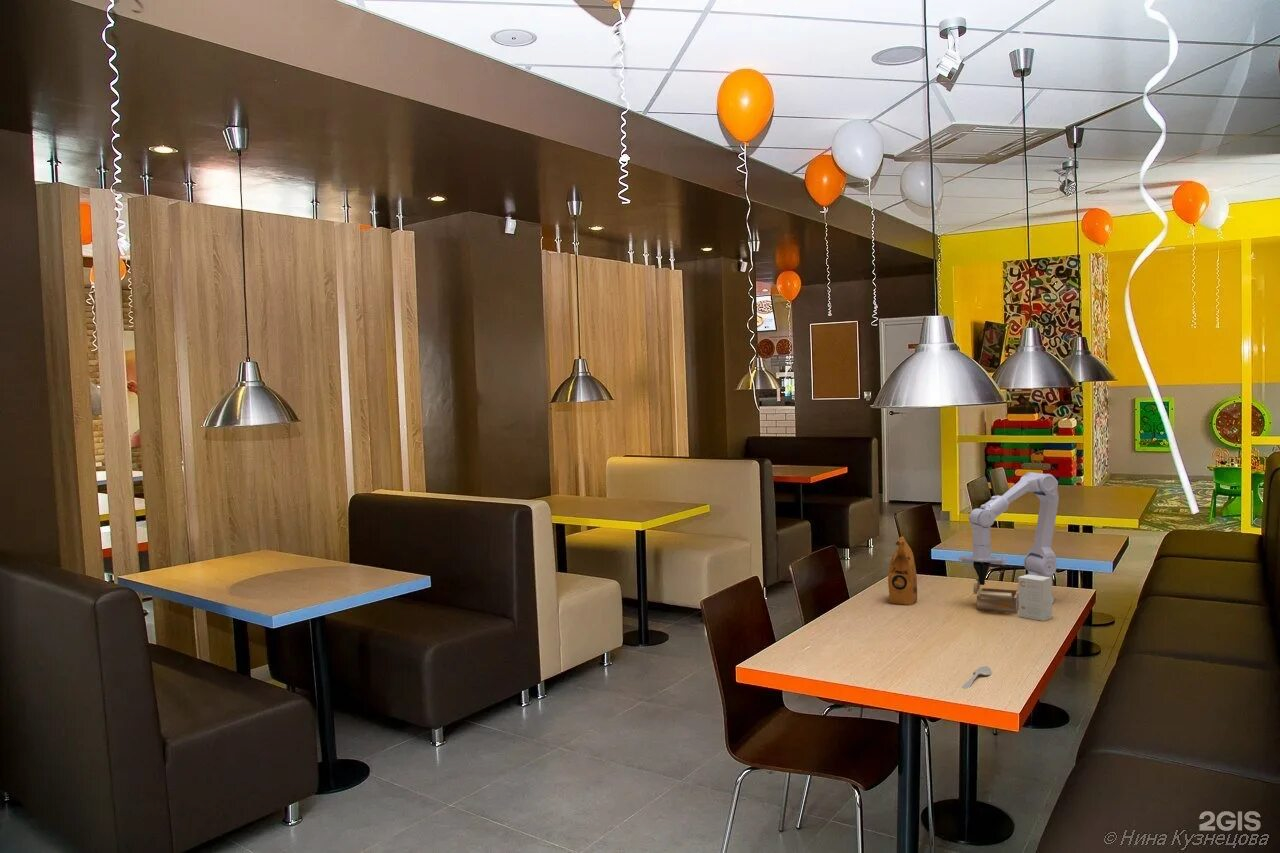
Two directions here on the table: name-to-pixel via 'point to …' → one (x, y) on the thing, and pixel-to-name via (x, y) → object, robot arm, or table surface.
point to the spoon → (977, 672)
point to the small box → (1035, 597)
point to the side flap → (976, 586)
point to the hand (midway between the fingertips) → (982, 584)
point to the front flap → (996, 595)
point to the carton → (998, 602)
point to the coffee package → (902, 575)
